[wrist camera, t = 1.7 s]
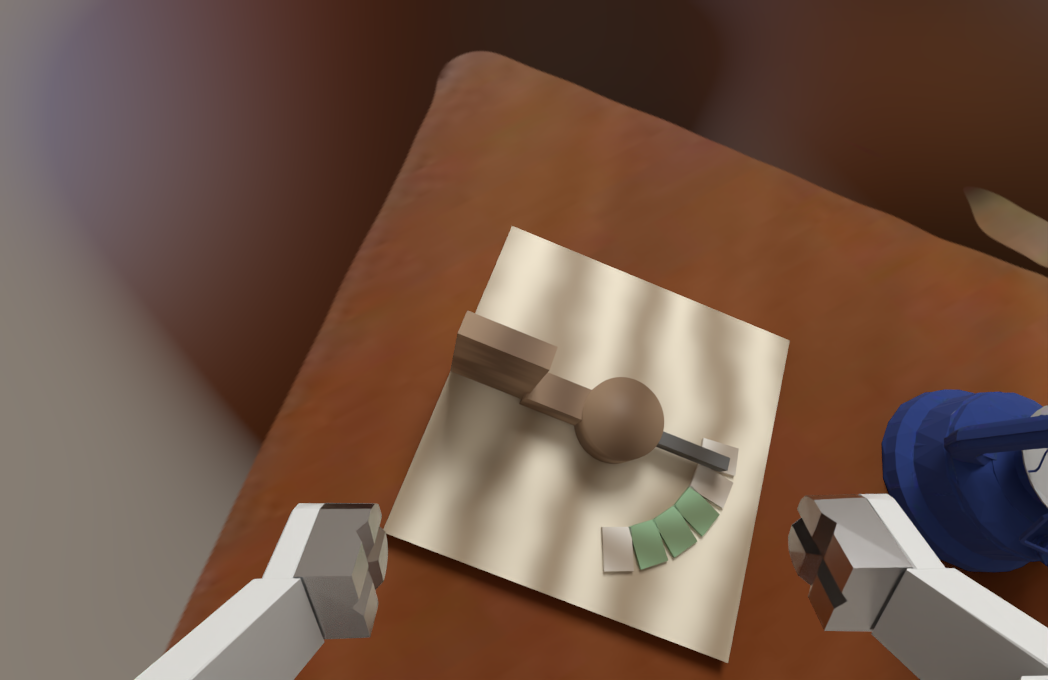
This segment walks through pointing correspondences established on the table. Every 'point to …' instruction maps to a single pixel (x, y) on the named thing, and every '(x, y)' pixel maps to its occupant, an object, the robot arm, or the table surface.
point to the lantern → (972, 476)
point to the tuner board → (591, 485)
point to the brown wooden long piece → (571, 395)
